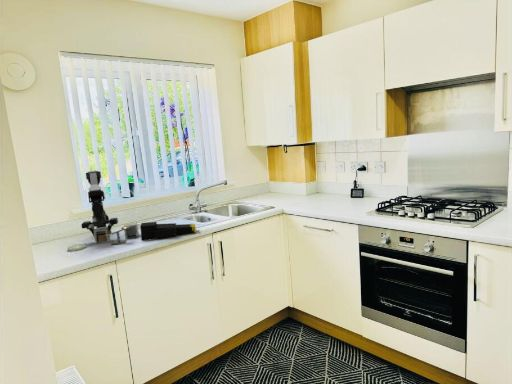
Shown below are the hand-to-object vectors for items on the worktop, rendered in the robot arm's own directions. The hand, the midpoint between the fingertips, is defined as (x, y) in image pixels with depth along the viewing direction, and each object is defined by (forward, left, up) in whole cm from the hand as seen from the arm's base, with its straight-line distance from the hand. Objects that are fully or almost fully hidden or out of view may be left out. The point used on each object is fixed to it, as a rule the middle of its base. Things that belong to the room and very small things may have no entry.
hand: (102, 237), depth 209 cm
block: (0, 0, -2) cm, 2 cm away
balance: (+10, +10, -2) cm, 14 cm away
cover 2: (-1, +16, -2) cm, 16 cm away
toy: (+9, +37, -3) cm, 38 cm away
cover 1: (0, 0, -2) cm, 2 cm away
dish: (+9, -12, -2) cm, 15 cm away
